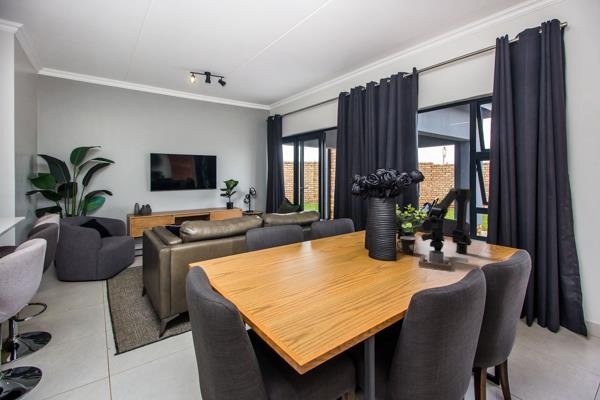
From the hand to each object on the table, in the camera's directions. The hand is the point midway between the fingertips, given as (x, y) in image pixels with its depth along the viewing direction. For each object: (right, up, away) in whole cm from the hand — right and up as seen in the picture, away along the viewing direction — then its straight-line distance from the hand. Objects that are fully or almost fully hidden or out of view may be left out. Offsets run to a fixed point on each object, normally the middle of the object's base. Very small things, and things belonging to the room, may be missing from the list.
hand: (437, 256), depth 161 cm
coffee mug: (-14, -1, +13) cm, 19 cm away
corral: (-5, -3, -9) cm, 11 cm away
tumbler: (-3, -3, -5) cm, 6 cm away
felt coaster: (+12, -2, -1) cm, 12 cm away
